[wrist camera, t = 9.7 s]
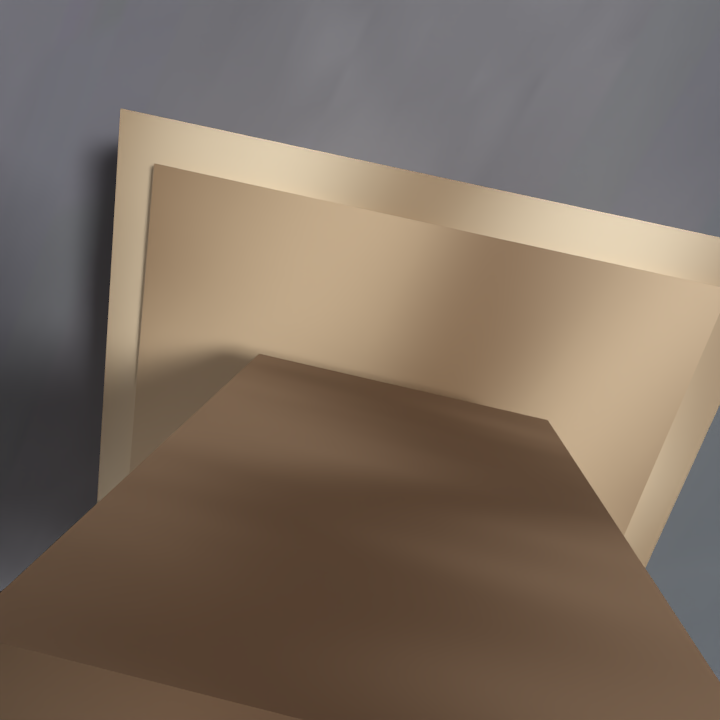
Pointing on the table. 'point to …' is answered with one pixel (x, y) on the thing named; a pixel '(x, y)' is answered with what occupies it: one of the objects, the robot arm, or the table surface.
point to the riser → (406, 303)
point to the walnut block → (347, 574)
